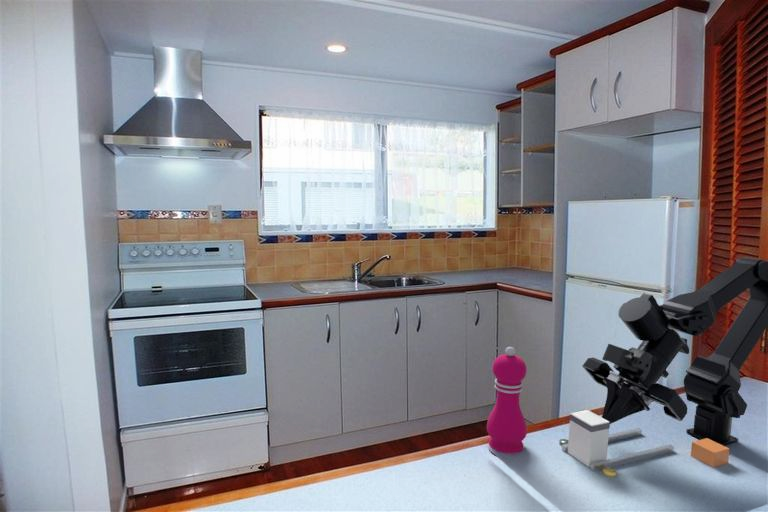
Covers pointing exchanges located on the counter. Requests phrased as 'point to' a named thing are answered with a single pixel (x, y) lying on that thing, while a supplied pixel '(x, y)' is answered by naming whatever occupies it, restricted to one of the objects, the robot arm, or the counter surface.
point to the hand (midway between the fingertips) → (603, 423)
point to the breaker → (588, 437)
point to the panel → (626, 458)
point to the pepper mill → (507, 404)
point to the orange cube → (710, 452)
